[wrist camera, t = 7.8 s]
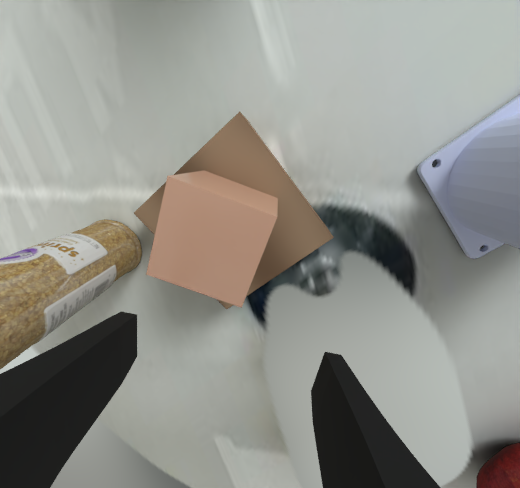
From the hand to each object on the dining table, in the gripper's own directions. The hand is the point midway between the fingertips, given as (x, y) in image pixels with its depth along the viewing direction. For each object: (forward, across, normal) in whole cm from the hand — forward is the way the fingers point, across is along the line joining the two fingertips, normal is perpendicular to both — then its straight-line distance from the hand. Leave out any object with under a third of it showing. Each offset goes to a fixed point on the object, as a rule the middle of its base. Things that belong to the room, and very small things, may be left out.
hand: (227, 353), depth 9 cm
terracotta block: (+7, +2, -3) cm, 8 cm away
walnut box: (+10, +2, -3) cm, 11 cm away
